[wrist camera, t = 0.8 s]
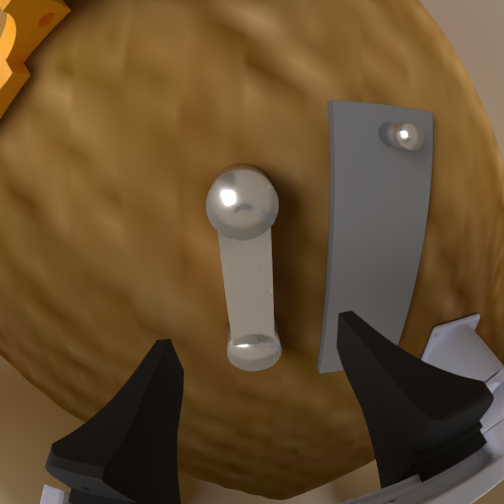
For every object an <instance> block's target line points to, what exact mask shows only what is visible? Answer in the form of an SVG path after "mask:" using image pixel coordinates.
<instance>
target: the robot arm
mask: <svg viewBox="0 0 504 504" xmlns="http://www.w3.org/2000/svg"><path fill="white" fill-rule="evenodd" d="M479 319H480V315H479V314H475V315H472V316H469V317H465V318H462V319H459V320H456V321H452V322H449V323H446V324H442V325H439V326H436V327H434V329H433V330H432V333H431V336H430V338H429V341H428V344H427V346H426V349H425V351H424V354H423V356H422V358H421V360H420V359H418V358H417V357H415V356H413V355H411V354H409V353H408V352H406V351H404V350H403V349H401V348H400V347H398V346H397V345H395V344H394V343H392V342H391V341H390V340H388V339H387V338H386V337H384V336H383V335H382V334H380V333H379V332H378V331H376V330H375V329H374V328H373V327H371V326H370V325H369V324H368V323H367V322H365V321H364V320H363V319H362V318H360V317H359V316H358V315H357V314H356V313H354V312H353V311H352V310H351V311H346V312H342V313H338V330H337V345H336V348H337V351H338V354H339V357H340V360H341V364H342V367H343V369H344V371H345V373H346V375H347V378H348V380H349V382H350V384H351V386H352V388H353V390H354V393H355V395H356V397H357V399H358V401H359V404H360V406H361V408H362V411H363V414H364V417H365V420H366V423H367V427H368V430H369V434H370V437H371V441H372V445H373V449H374V453H375V458H376V462H377V467H378V473H379V478H380V485H381V489H380V490H377V491H375V492H372V493H368V494H366V495H362V496H359V497H356V498H353V499H349V500H346V501H342V502H338V503H334V504H389V503H390V504H472V503H473V502H474V501H476V500H477V499H479V498H480V497H482V496H483V495H484V494H486V493H487V492H488V491H489V490H491V489H492V488H493V487H495V486H496V485H497V484H498V483H499V482H501V481H502V480H503V479H504V366H503V365H502V363H501V362H500V361H499V360H498V358H497V357H496V356H495V355H494V353H493V352H492V351H491V350H490V349H489V347H488V346H487V345H486V344H485V343H484V341H483V340H482V339H481V338H480V337H479V336H478V335H477V333H476V332H475V328H476V326H477V324H478V321H479ZM183 383H184V370H183V368H182V366H181V363H180V361H179V359H178V357H177V354H176V352H175V350H174V347H173V345H172V342H171V340H170V339H164V340H157V341H156V342H155V344H154V345H153V346H152V348H151V349H150V351H149V352H148V354H147V355H146V356H145V358H144V359H143V361H142V362H141V364H140V365H139V366H138V368H137V369H136V370H135V372H134V373H133V375H132V376H131V377H130V378H129V380H128V381H127V382H126V383H125V385H124V386H123V387H122V388H121V390H120V391H119V392H118V393H117V394H116V395H115V396H114V398H113V399H112V400H111V401H110V402H109V403H108V404H107V405H106V406H105V407H104V408H102V409H101V410H100V411H99V412H98V413H97V414H96V415H94V416H93V417H92V418H91V419H90V420H89V421H87V422H86V423H85V424H83V425H82V426H81V427H79V428H78V429H76V430H75V431H73V432H72V433H70V434H69V435H67V436H65V437H64V438H62V439H60V440H58V441H57V442H55V443H53V444H52V446H51V450H50V453H49V456H48V459H47V462H46V466H45V468H46V470H47V471H48V472H49V473H50V474H51V475H52V476H54V477H55V478H57V479H58V480H60V481H61V482H63V483H64V484H66V485H67V486H69V487H70V488H71V493H69V492H66V491H64V490H62V489H59V488H56V487H53V486H50V485H48V484H45V485H44V490H43V493H42V498H41V502H40V504H181V502H180V494H179V484H178V469H177V433H178V425H179V418H180V411H181V404H182V397H183Z"/></svg>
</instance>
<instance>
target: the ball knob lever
mask: <svg viewBox="0 0 504 504" xmlns="http://www.w3.org/2000/svg"><path fill="white" fill-rule="evenodd" d="M278 209H279V202H278V197H277V194H276V191H275V189H274V187H273V186H272V184H271V183H270V181H269V180H268V178H267V177H266V175H265V174H264V173H263V172H262V171H261V170H259V169H258V168H256V167H254V166H252V165H248V164H234V165H231V166H228V167H226V168H225V169H223V170H222V171H221V172H220V173H219V174H218V175H217V176H216V177H215V179H214V181H213V183H212V186H211V188H210V191H209V194H208V196H207V201H206V211H207V216H208V219H209V221H210V223H211V224H212V226H213V227H214V228H215V229H216V230H217V231H218V238H219V246H220V255H221V263H222V271H223V279H224V286H225V294H226V301H227V309H228V316H229V322H228V334H227V356H228V359H229V361H230V362H231V363H232V364H233V365H234V366H235V367H237V368H239V369H242V370H246V371H259V370H263V369H266V368H269V367H271V366H272V365H274V364H275V363H276V362H277V361H278V359H279V358H280V356H281V345H280V340H279V335H278V331H277V326H276V321H275V319H274V303H273V272H272V246H271V226H272V225H273V223H274V222H275V219H276V217H277V214H278Z"/></svg>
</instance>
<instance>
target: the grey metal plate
mask: <svg viewBox="0 0 504 504" xmlns="http://www.w3.org/2000/svg"><path fill="white" fill-rule="evenodd" d="M328 115H329V144H330V211H329V241H328V260H327V276H326V290H325V302H324V313H323V324H322V333H321V342H320V351H319V359H318V370H319V373H320V374H323V373H329V372H334V371H340V370H344V369H343V367H342V364H341V360H340V357H339V354H338V351H337V348H336V345H337V330H338V313H342V312H346V311H351V310H352V311H353V312H354V313H356V314H357V315H358V316H359V317H360V318H362V319H363V320H364V321H365V322H367V323H368V324H369V325H370V326H371V327H373V328H374V329H375V330H376V331H378V332H379V333H380V334H382V335H383V336H384V337H386V338H387V339H388V340H390V341H391V342H392V343H394V344H395V345H397V346H398V343H399V340H400V337H401V334H402V331H403V327H404V324H405V321H406V317H407V314H408V310H409V306H410V302H411V299H412V295H413V291H414V286H415V282H416V278H417V273H418V268H419V263H420V258H421V253H422V248H423V242H424V236H425V229H426V222H427V215H428V207H429V198H430V187H431V174H432V155H433V113H432V112H426V111H421V110H416V109H410V108H403V107H397V106H390V105H382V104H373V103H364V102H352V101H338V100H332V101H328Z"/></svg>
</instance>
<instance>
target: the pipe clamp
mask: <svg viewBox="0 0 504 504" xmlns="http://www.w3.org/2000/svg"><path fill="white" fill-rule="evenodd" d="M0 7H1V9H2V11H4V12H7V22H6V26H5V29H4V31H3V34H2V36H1V38H0V119H1V118H2V116H3V114H4V113H5V111H6V110H7V108H8V107H9V105H10V103H11V102H12V100H13V99H14V98H15V96H16V95H17V93H18V92H19V90H20V89H21V88H22V86H23V85H24V84H25V82H26V81H27V80H28V78H29V77H30V76H31V74H30V72H29V71H28V69H27V68H26V66H25V64H24V62H25V61H26V60H27V58H28V57H29V56H30V55H31V53H32V52H33V51H34V50H35V48H36V47H37V46H38V45H39V44H40V43H41V41H42V40H43V39H44V38H45V37H46V36H47V35H48V34H49V33H50V31H51V30H52V29H53V28H54V27H55V26H56V25H57V24H58V23H59V22H60V21H61V20H62V19H63V18H64V17H65V16H66V15H67V14H68V13H69V12H70V11H71V9H70V8H69V7H68V6H67V5H66V4H65V2H64V1H63V0H0Z"/></svg>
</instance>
